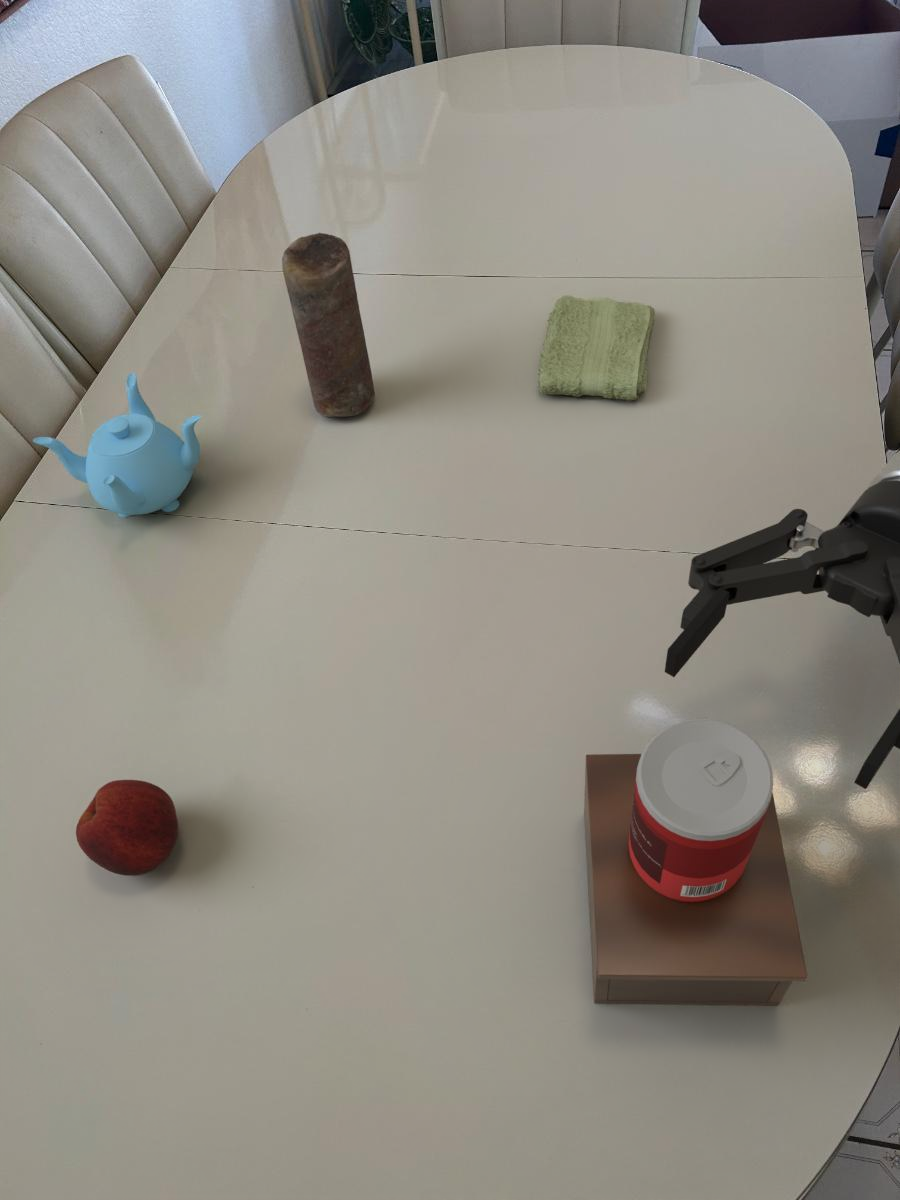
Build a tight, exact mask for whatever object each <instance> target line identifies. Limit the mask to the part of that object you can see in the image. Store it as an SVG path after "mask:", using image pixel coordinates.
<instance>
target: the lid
mask: <svg viewBox="0 0 900 1200" xmlns="http://www.w3.org/2000/svg"><path fill="white" fill-rule="evenodd" d="M641 754H642V753H607V754H603V753H601V754H597V753H596V754H586V755H585V766H586V774H587V792H588V810H589V828H590V846H591V864H592V882H593V900H594V918H595V936H596V954H597V972H598V979H641V980H729V981H793V982H806V981H807V979H808V972H807V966H806V961H805V956H804V951H803V946H802V941H801V936H800V930H799V925H798V919H797V914H796V908H795V904H794V898H793V893H792V887H791V882H790V877H789V873H788V872H789V871H788V866H787V862H786V856H785V850H784V845H783V840H782V834H781V830H780V829H781V828H780V824H779V819H778V813H777V809H776V804H775V803H776V802H775V797H774V793H773V792H774V791H772V796H771V801H770V804H769V806H768V810H767V813H766V815H765V818H764V820H763V823H762V826H761V828H760V831H759V833H758V836H757V838H756V841H755V844H754V846H753V849H752V851H751V854H750V856H749V859H748V862H747V864H746V866H745V869H744V871H743V873H742V875H741V877H740V878H739V879H738V881H737V882H736V883H735V884H734V885H733V886H732V887H731V888H730V889H729V890H727V891H726V892H724V893H722V894H720V895H719V896H717V897H714V898H712V899H708V900H705V901H700V902H681V901H677V900H673V899H669V898H667V897H665V896H663V895H661V894H659V893H658V892H656V891H655V890H653V889H652V888H651V887H649V885H648V884H647V883H646V882H645V881H644V880H643V879H642V878H641V877H640V875H639V873H638V872H637V870H636V869H635V867H634V865H633V862H632V860H631V857H630V851H629V833H630V823H631V814H632V805H633V796H634V786H635V777H636V772H637V767H638V763H639V760H640V757H641Z"/></svg>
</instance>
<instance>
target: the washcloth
mask: <svg viewBox="0 0 900 1200" xmlns="http://www.w3.org/2000/svg"><path fill="white" fill-rule="evenodd" d="M655 314H656V310H655V308H654V307H653V306H652V305H649V304H648V305H647V304H645V303H640V302H629V301H618V300H615V299H612V298H607V297H593V298H580V297H579V298H578V297H575V296H572V295H568V294H565V295H562V296H561V297H560V298H558V299H557V300H556V302H555V304H554V307H553V309H552V310H551V312H550V313H549V314H548V315H549V316H548V319H547V322H548V323H547V324H548V326H547V327H546V332H545V333H546V334H545V340H543V341H544V342H543V346H542V351H541V354H540V357H539V368H538V373H537V374H538V376H539V377H538V379H537V380H538V382H537V383H538V387H537V389H538V391H539V392H540V394H541V395H553V396H554V395H565V396H572V397H577V398H579V397H581V396H584V395H585V396H593V397H596V396H598V397H603V398H604V399H616V400H619V399H620V400H622V401H623V400H626V401H628V402H629V401H634V400H638V399H639V397H640V394H641V393H644V392H645V391H646V389H647V383H648V379H647V378H648V376H647V375H648V373H647V372H648V370H647V363H648V352H649V351H648V348H649V342H650V341H649V340H650V337H651V331H652V329H653V326H654V321H655Z"/></svg>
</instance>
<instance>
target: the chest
mask: <svg viewBox="0 0 900 1200" xmlns="http://www.w3.org/2000/svg"><path fill="white" fill-rule="evenodd" d="M584 770H585V771H584V772H585V773H584V801H583V802H584V804H583V805H584V807H583V818H584V836H585V852H586V853H585V856H586V873H587V877H586V878H587V892H588V893H587V895H588V909H589V910H588V911H589V912H588V913H589V931H590V950H591V951H590V952H591V966H592V967H591V968H592V971H591V972H592V989H593V1003H594V1004H599V1005H600V1004H601V1005H602V1004H604V1005H605V1004H606V1005H609V1004H610V1005H614V1004H615V1005H677V1006H679V1005H681V1006H743V1007H744V1006H745V1007H747V1006H749V1007H750V1006H751V1007H753V1006H754V1007H778V1006H780V1004H781V1001H782V1000H783V998H784V996H785V995H786V993H787V992H788V990H789V989H790V987H791V985H792V984H793V982H794V981H729V980H641V979H598V972H597V954H596V936H595V918H594V900H593V882H592V864H591V846H590V828H589V810H588V792H587V774H586V765H585V768H584Z"/></svg>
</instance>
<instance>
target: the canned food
mask: <svg viewBox="0 0 900 1200" xmlns="http://www.w3.org/2000/svg"><path fill="white" fill-rule="evenodd" d="M640 754H641V757H640V760H639V763H638V767H637V772H636V777H635V786H634V796H633V805H632V814H631V823H630V833H629V851H630V857H631V860H632V862H633V865H634V867H635V869H636V870H637V872H638V873H639V875H640V877H641V878H642V879H643V880H644V881H645V882H646V883H647V884H648V885H649V887H651V888H652V889H653V890H655V891H656V892H658V893H659V894H661V895H663V896H665V897H667V898H669V899H673V900H677V901H681V902H700V901H705V900H708V899H712V898H714V897H717V896H719V895H720V894H722V893H724V892H726V891H727V890H729V889H730V888H731V887H732V886H733V885H734V884H735V883H736V882H737V881H738V879H739V878H740V877H741V875H742V873H743V871H744V869H745V866H746V864H747V862H748V859H749V856H750V854H751V851H752V849H753V846H754V844H755V841H756V838H757V836H758V833H759V831H760V828H761V826H762V823H763V820H764V818H765V815H766V813H767V810H768V806H769V804H770V801H771V796H772V792H774V791H773V790H774V772H773V769H772V765H771V761H770V760H769V757H768V756H767V754H766V752H765V750H764V749H763V747H761V745H760V744H759V742H757V741H756V740H755V738H753V737H752V736H751V735H750V734H748V733H747V732H746V731H744V730H742V729H741V728H739V727H738V726H736V725H733V724H730V723H729V722H726V721H721V720H717V719H713V718H691V719H685V720H681V721H677V722H674V723H672V724H670V725H668V726H666V727H664V728H662V729H661V730H660V731H658V732H657V733H656V734H655V735H653V737H652V738H651V739H650V740H649V741H648V742H647V743H646V745H645V747H644V749H643V751H642V753H640Z"/></svg>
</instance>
